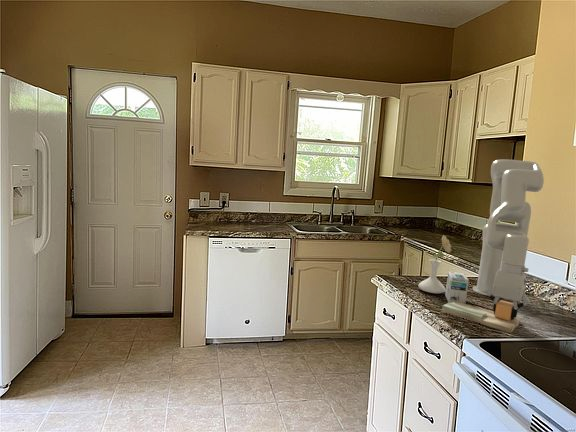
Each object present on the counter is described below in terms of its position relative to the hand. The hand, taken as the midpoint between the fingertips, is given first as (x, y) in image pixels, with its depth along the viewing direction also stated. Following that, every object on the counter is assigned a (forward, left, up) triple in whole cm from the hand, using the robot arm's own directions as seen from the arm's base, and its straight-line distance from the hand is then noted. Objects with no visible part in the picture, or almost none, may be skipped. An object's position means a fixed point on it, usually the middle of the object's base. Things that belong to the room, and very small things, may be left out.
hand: (504, 315), depth 160 cm
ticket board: (+4, -7, -2) cm, 8 cm away
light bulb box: (-9, -21, -2) cm, 23 cm away
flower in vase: (-13, -32, -2) cm, 35 cm away
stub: (0, 0, 0) cm, 0 cm away
